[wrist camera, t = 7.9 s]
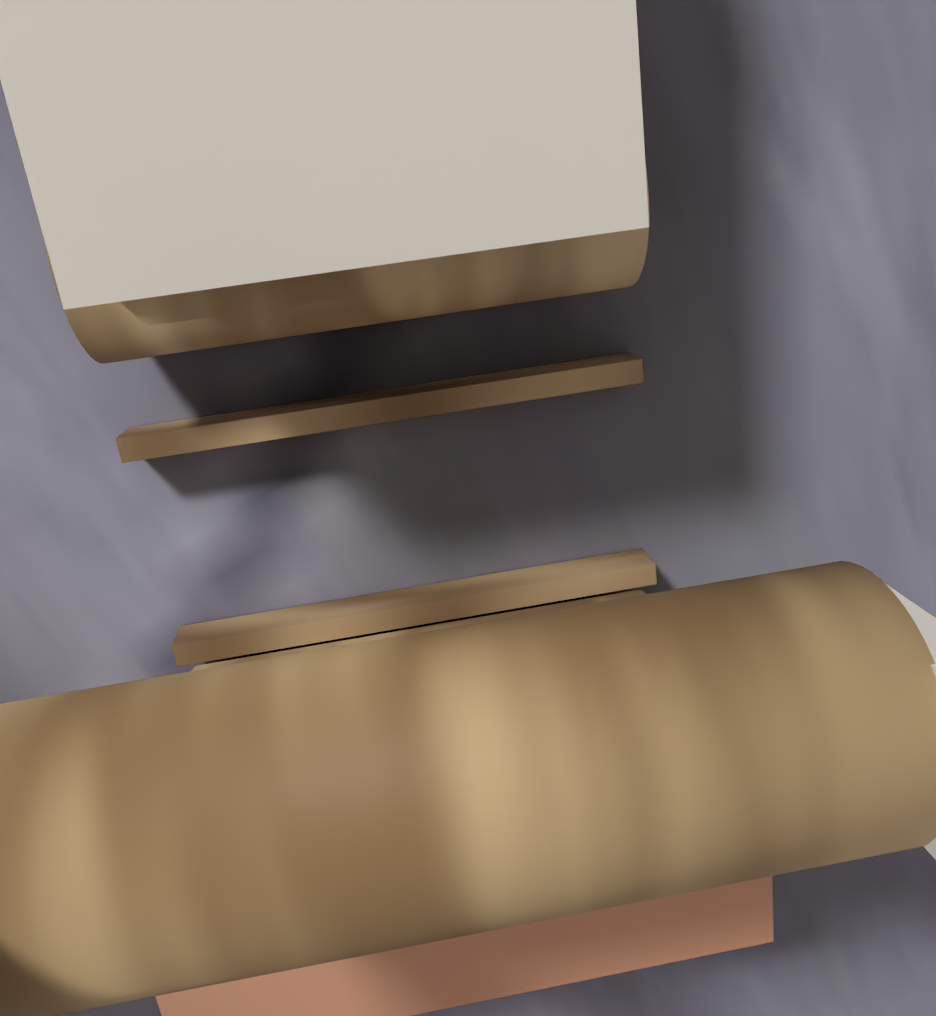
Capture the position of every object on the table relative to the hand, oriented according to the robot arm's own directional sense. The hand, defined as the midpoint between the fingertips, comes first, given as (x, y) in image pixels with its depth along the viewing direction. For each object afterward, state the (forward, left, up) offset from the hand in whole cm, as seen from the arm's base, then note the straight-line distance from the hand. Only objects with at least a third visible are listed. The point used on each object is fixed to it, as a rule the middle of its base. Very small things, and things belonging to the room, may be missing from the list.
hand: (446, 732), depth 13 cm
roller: (0, 0, -1) cm, 1 cm away
